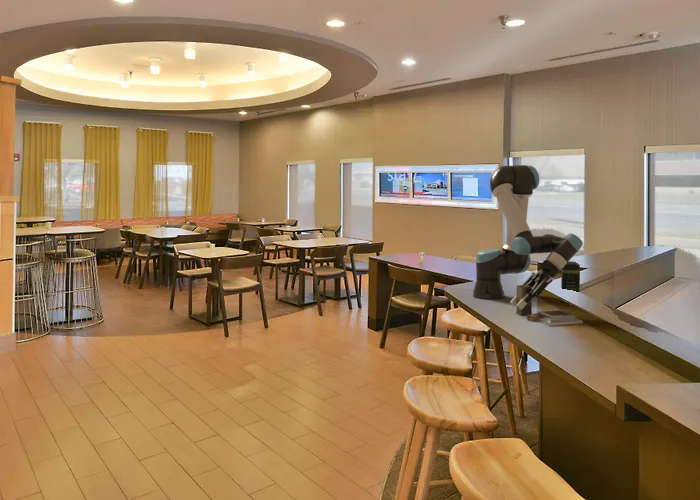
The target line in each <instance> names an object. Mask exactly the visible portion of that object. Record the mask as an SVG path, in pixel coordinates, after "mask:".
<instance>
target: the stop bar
mask: <svg viewBox="0 0 700 500" xmlns="http://www.w3.org/2000/svg"><path fill="white" fill-rule="evenodd" d="M515 287H516V294H515V296H516V306H515V307H516V309H515V310H516V312H515V313H516V314H517V315H518V316H522V317H523V316H526V317H527V315H531V314H533V308H532V307H533V305H532V303H533V298H532V299H531V300H530V301H529V302H528V303H527V304H526V305H525V307H524V308H523V309H522V310H521V309H520V308H519V307H518V306H517V304H518V303H519V302H520V301H521V300H522V298H523V297H524V296H525V295H526V294H528V293H527V292H530V291H531V289H532V288H533V287H531V286H528V285H522V284H520V285H519V284H518V285H516V286H515Z"/></svg>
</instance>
